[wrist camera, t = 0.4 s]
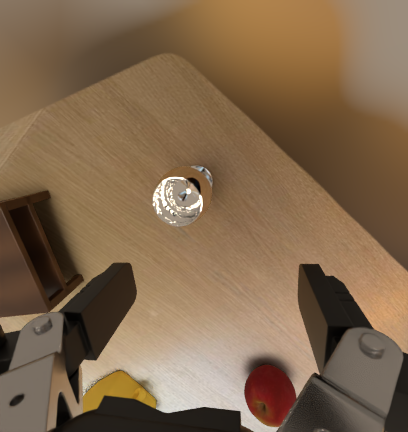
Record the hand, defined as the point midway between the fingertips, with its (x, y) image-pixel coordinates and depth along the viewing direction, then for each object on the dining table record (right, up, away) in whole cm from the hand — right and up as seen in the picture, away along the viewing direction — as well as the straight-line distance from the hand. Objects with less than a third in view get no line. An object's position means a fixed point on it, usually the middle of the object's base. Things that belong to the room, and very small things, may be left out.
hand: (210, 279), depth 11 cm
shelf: (-29, -2, +28) cm, 41 cm away
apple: (+11, -24, +30) cm, 40 cm away
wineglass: (-1, +8, +22) cm, 23 cm away
